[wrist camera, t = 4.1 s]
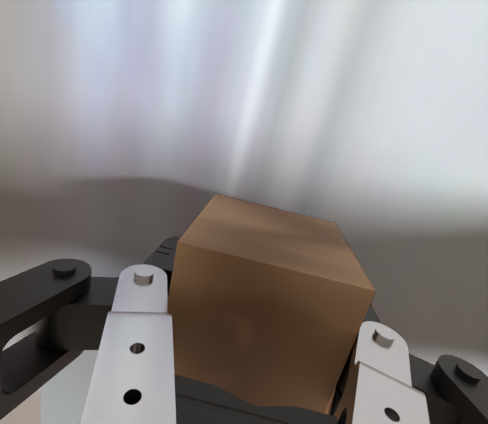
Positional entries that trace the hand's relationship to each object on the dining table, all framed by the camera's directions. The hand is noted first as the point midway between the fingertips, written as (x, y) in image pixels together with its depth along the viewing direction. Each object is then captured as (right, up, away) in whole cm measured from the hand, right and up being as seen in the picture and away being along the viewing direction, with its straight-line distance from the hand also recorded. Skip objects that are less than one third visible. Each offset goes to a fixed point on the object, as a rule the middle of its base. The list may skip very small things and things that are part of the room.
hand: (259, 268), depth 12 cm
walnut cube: (0, 0, +1) cm, 1 cm away
